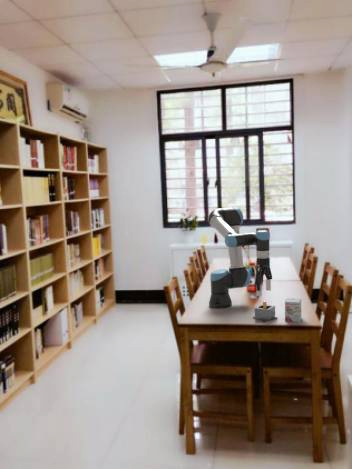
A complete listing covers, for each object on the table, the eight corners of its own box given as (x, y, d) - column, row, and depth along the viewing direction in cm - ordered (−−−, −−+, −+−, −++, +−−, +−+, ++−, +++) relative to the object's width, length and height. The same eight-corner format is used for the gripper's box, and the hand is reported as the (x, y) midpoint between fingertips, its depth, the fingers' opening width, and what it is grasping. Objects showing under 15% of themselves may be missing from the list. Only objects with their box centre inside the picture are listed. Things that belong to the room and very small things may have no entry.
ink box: (284, 321, 249) (284, 301, 248) (286, 317, 257) (286, 297, 256) (300, 322, 246) (300, 301, 245) (301, 318, 254) (301, 298, 253)
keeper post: (253, 317, 259) (252, 301, 258) (266, 314, 264) (266, 298, 263) (263, 321, 250) (262, 305, 249) (277, 318, 255) (276, 302, 254)
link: (254, 318, 256) (254, 308, 255) (261, 314, 263) (260, 304, 263) (269, 320, 251) (269, 309, 250) (275, 315, 258) (275, 305, 258)
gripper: (260, 261, 241) (261, 299, 244) (277, 254, 261) (277, 288, 264) (248, 260, 245) (249, 297, 248) (265, 253, 266) (266, 287, 268)
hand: (263, 293), depth 256 cm, fingers open, 13 cm apart
